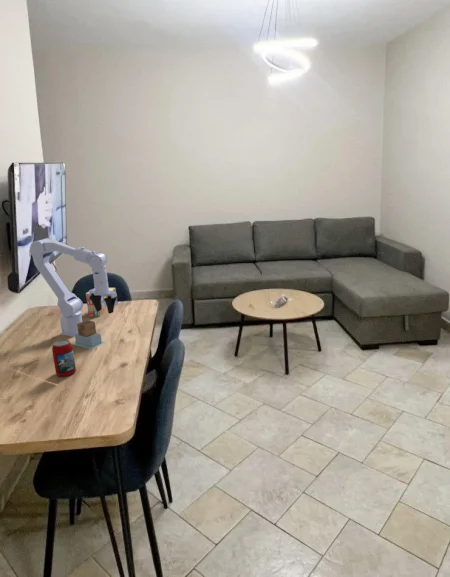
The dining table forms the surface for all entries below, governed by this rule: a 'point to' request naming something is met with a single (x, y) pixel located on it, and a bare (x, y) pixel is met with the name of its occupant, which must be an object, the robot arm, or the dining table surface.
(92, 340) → the base block
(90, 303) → the stack of blocks
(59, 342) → the beverage can
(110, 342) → the dining table surface
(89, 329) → the walnut cube
